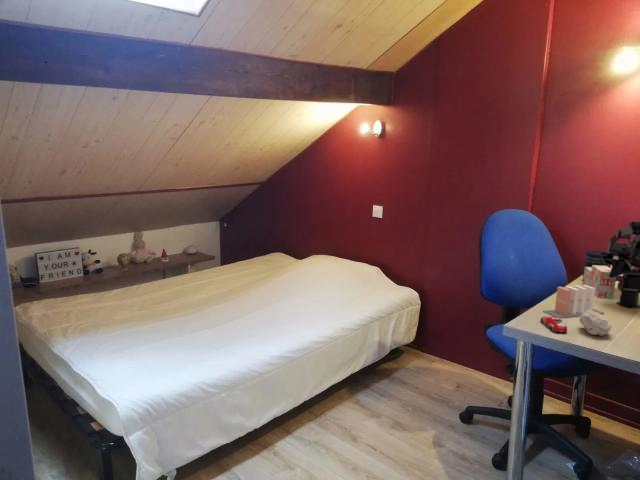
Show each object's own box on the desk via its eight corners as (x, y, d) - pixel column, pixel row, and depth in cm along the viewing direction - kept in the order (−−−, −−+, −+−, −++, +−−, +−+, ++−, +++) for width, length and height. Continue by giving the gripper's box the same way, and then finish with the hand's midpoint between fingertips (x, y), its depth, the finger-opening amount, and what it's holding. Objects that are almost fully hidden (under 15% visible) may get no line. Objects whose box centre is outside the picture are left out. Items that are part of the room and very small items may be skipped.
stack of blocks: (582, 285, 229) (585, 260, 227) (596, 286, 228) (599, 261, 226) (597, 298, 209) (601, 271, 206) (613, 299, 207) (617, 272, 205)
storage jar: (579, 282, 234) (583, 252, 231) (584, 278, 241) (588, 249, 239) (602, 286, 228) (607, 255, 225) (606, 282, 235) (610, 252, 232)
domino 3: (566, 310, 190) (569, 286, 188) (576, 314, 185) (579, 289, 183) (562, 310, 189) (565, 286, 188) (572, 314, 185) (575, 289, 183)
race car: (538, 321, 179) (539, 311, 178) (553, 322, 178) (554, 311, 177) (552, 334, 166) (553, 323, 165) (568, 335, 165) (570, 324, 164)
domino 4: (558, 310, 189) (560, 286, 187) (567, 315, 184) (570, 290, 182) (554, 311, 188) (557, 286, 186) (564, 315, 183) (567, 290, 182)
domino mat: (586, 307, 195) (587, 306, 195) (603, 313, 187) (603, 312, 187) (543, 311, 188) (543, 310, 188) (558, 318, 181) (558, 317, 181)
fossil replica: (594, 326, 174) (570, 330, 172) (594, 304, 173) (569, 308, 171) (620, 336, 162) (595, 340, 160) (620, 313, 161) (595, 316, 159)
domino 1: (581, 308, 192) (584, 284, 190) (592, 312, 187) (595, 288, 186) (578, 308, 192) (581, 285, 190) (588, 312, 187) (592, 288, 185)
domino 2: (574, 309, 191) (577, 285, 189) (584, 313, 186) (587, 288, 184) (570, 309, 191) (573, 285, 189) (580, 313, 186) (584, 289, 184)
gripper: (606, 231, 197) (581, 259, 196) (648, 240, 180) (622, 269, 179) (618, 249, 201) (594, 276, 200) (660, 259, 184) (634, 288, 183)
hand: (610, 277), depth 190 cm, fingers closed
